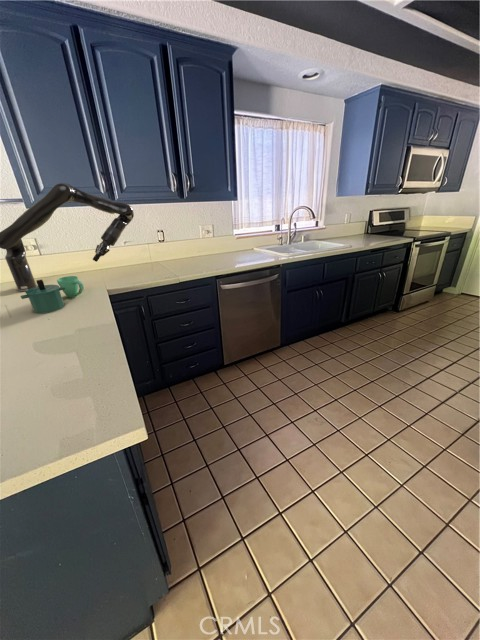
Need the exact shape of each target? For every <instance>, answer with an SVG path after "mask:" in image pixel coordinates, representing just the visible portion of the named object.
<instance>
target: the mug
mask: <svg viewBox="0 0 480 640" xmlns="http://www.w3.org/2000/svg"><path fill="white" fill-rule="evenodd" d="M56 283H57V285H58V286H59V287H65V290H61V291H62V292H63V293H64V294H65V296H66V297H67V298H75V297H78V296H79V295H81V294H82V292H83V291H84V288H85V287H84V283H83V282H82V281H81V280H79V277H78V276H76V275H68V276H67V275H66V276H62V277H59V278H57V279H56Z"/></svg>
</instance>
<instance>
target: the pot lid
mask: <svg viewBox="0 0 480 640" xmlns="http://www.w3.org/2000/svg"><path fill="white" fill-rule="evenodd" d="M36 283H37V284H36V285H37V287H34V288H31V289H28V290H27V291H24V293H25V295H41V294H46V293H50V292H53V291H56V290H58V289H59V287H60V286H59V284H45V283H44V281H43V279H37V280H36Z"/></svg>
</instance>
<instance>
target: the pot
mask: <svg viewBox="0 0 480 640" xmlns="http://www.w3.org/2000/svg"><path fill="white" fill-rule="evenodd" d="M62 290H65V287H60V286H59V289H58V290H56V291H53V292H50V293H46V294H41V295H27V294H22V295H20V298H21V300H25V299H28V300H29V302H30V306H31V308H32V310H33V312H34V313H36V314H47V313H48V314H49V313H53V312H56V311H58V310H60V309H62V308H64V307H65V303H64V300H63V297H62V294H61V291H62Z"/></svg>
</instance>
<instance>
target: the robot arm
mask: <svg viewBox="0 0 480 640" xmlns="http://www.w3.org/2000/svg"><path fill="white" fill-rule="evenodd" d="M66 203H77V204H78V203H79V204H83V205H86V206H88V207H90V208H92V209H96V210H98V211H101V212H103V213H107V214H111V215H114V214H117V215H118V216H117V217H115V218H113V220H112V221H111V223H110V224H109V225H108V226H107V228H106V229H105V231H104V232H103V233H102V235H101V237H100V239H101V242H100V243H98V244H96V248H95V250H94V253H95V254H94V256H93V257H92V261H94V262H98V261H99V260H100V258H101V257H104V256H105V255H107V253H109V252H110V250H111V249H110V247H114V246H115V245H116V243H117V242H118V240H119V239H120V237H121V235H122V233H123V232H124V231H125V229H126V227H127V226H128V225H129V224H130V223H131V222H132V220H133V219H134V216H135V213H134V208H133V207H132V206H131V205H129V204H128V203H125V202H119V201H113V200H111V199H107V198H104V197H102V196H97V195H94V194H91V193H88V192H86V191H83V190H81V189H79V188H77V187H76V186H75V187H74V186H73V185H71V184H69V183H65V182H58V183H56V184H54V186H52V188H51V189H50V190H49V191H48V193H46V194H45V195H44V196H43V197H42V198H41V199H39V200H38V201H36V202H35V203H33V205H32V206H30V207H29V208H28V209H26V210H25V211H24V212H23V213H22V214H21V215H19V217H18V218H16V220H15V221H14V222H13V223H11V224H10V225H9V226H8V227H6V228H4V229H3V230H1V231H0V249H1V250H5V252H6V254H5V256H4V259H5V261H6V264H7V266H8V268H9V269H8V270H9V272H10V273H11V276H12V279H13V281H14V283H15V286H16V288H17V291H18V292H26V291H27V290H28V289H31V288H34V287H38V284H36V283H37V282H36V280H35V278H34V275H33V273H32V269H31V266H30V265H29V262H28V259H27V251H26V248H25V245H24V242H23V240H22V239H23V238H24V237H25V236H27V235H28V234H31V233H33V232H35V231H36V230H38V229H39V228H41V227H43V226H44V225H45V224H46V223H47V222H48V221H49V220H50V219H51V218H52V216H53V214H54V213H55V211H57V209H58V208H60V207H61V206H63V205H64V204H66Z"/></svg>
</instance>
